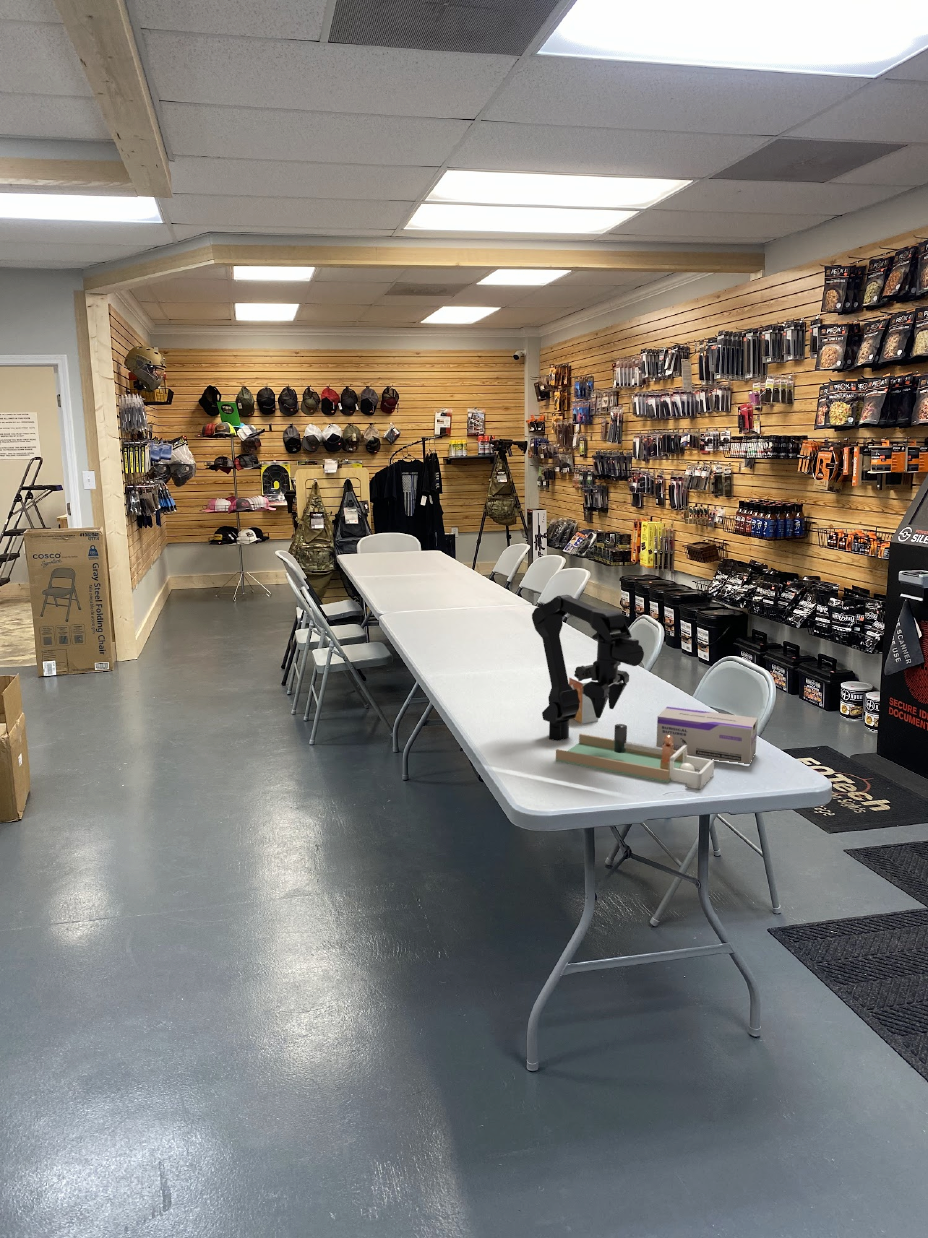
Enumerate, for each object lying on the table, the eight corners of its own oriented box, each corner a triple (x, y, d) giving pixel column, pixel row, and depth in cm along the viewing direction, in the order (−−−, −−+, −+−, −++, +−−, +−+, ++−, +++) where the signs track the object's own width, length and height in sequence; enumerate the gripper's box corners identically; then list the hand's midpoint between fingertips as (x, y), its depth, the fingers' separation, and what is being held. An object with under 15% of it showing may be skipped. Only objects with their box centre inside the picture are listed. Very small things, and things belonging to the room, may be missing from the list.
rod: (617, 754, 239) (618, 722, 238) (675, 765, 231) (676, 732, 230) (610, 760, 235) (611, 727, 233) (668, 771, 227) (670, 737, 225)
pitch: (580, 747, 251) (580, 733, 250) (687, 767, 235) (688, 752, 235) (555, 764, 238) (555, 750, 237) (667, 786, 222) (668, 771, 221)
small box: (567, 717, 280) (568, 676, 277) (584, 714, 282) (585, 674, 280) (581, 724, 272) (582, 683, 270) (599, 721, 275) (600, 680, 272)
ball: (692, 778, 229) (678, 770, 230) (699, 766, 227) (685, 758, 229) (687, 783, 225) (674, 775, 227) (694, 770, 224) (680, 762, 226)
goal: (683, 769, 234) (684, 744, 232) (713, 775, 230) (714, 749, 228) (668, 783, 224) (670, 757, 223) (700, 789, 220) (701, 763, 219)
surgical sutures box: (656, 753, 247) (657, 716, 245) (665, 742, 256) (667, 706, 254) (748, 767, 236) (751, 729, 234) (755, 755, 245) (757, 718, 243)
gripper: (593, 646, 249) (591, 699, 253) (565, 660, 234) (563, 717, 237) (631, 652, 244) (628, 706, 247) (604, 667, 228) (601, 724, 231)
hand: (604, 713), depth 241 cm, fingers open, 9 cm apart
